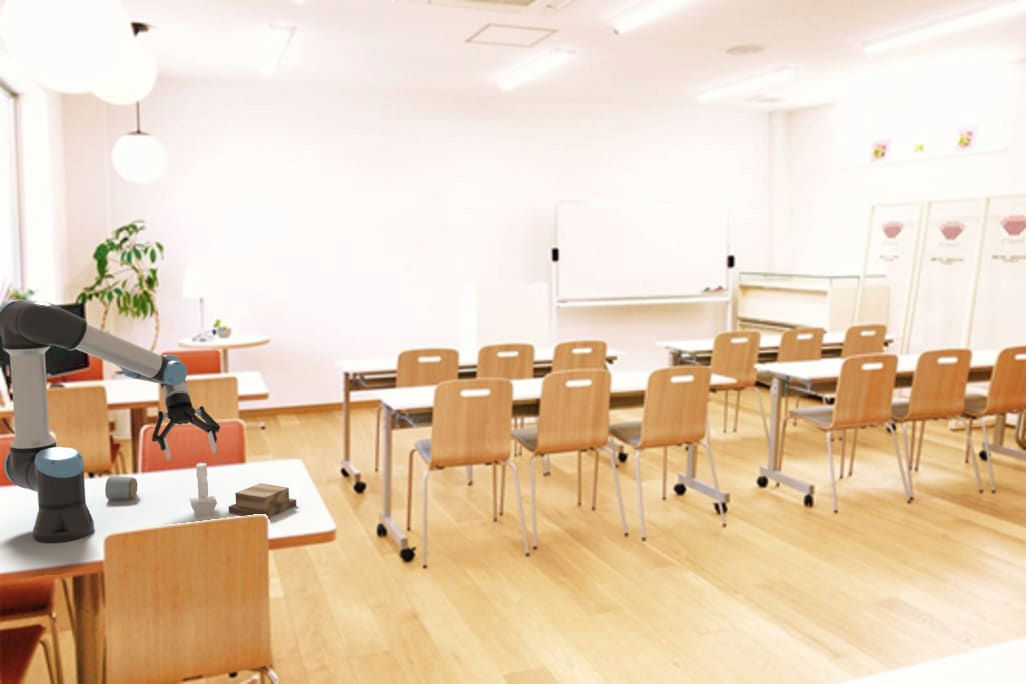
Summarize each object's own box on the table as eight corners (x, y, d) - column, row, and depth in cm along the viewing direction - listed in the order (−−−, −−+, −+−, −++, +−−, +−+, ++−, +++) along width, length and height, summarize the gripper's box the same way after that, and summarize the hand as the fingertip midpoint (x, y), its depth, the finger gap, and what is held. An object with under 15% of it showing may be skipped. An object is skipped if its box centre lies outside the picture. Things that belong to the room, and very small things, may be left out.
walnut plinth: (265, 519, 251) (264, 499, 251) (228, 513, 257) (228, 493, 256) (296, 505, 264) (295, 487, 263) (260, 499, 270) (260, 481, 269)
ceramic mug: (131, 501, 267) (130, 478, 267) (105, 502, 267) (104, 479, 266) (142, 492, 278) (141, 470, 277) (117, 493, 277) (115, 470, 276)
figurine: (192, 519, 252) (189, 469, 250) (189, 509, 260) (187, 461, 258) (218, 515, 255) (216, 466, 253) (214, 506, 263) (212, 459, 261)
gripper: (215, 400, 283) (230, 454, 273) (134, 410, 270) (147, 467, 259) (218, 387, 278) (235, 441, 268) (136, 396, 264) (150, 454, 254)
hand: (192, 454), depth 264 cm, fingers open, 13 cm apart
